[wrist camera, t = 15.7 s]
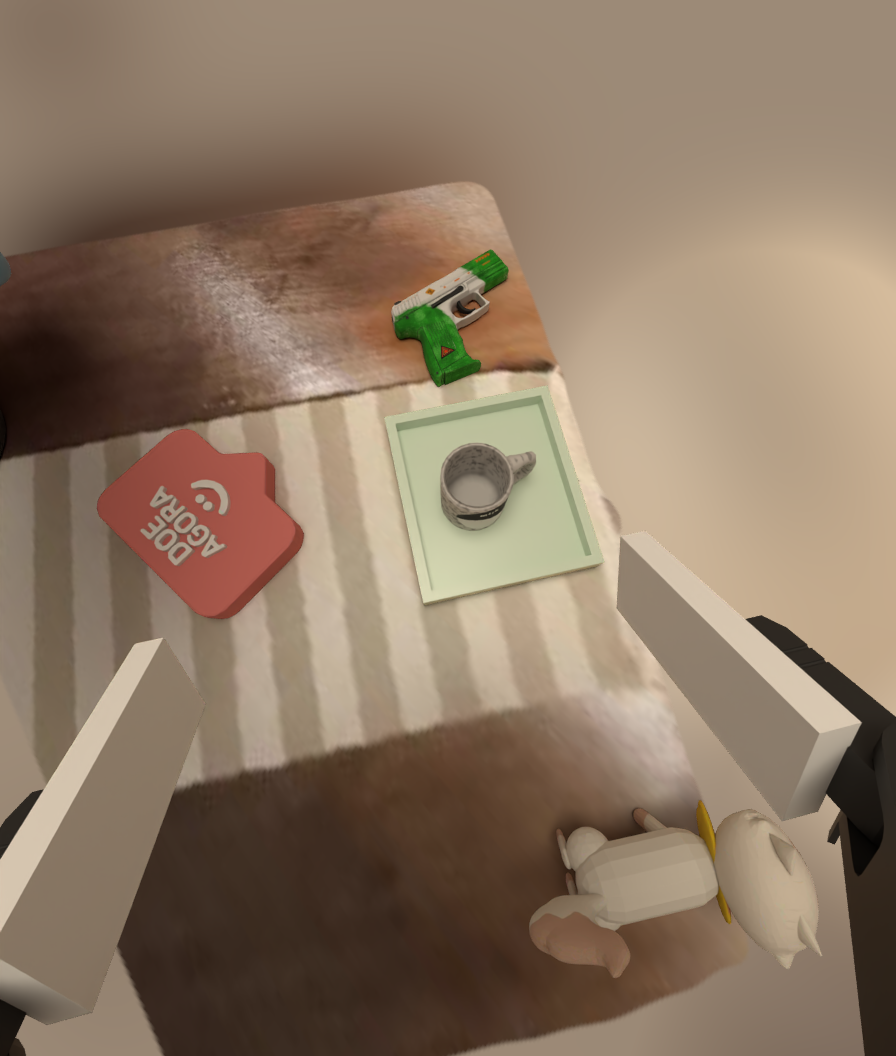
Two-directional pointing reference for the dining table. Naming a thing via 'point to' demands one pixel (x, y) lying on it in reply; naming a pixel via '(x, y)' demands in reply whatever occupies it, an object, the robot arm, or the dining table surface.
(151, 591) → the dining table surface
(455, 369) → the handgun
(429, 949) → the dining table surface
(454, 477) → the mug
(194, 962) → the dining table surface
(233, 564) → the plaque
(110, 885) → the robot arm
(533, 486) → the tray
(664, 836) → the toy
